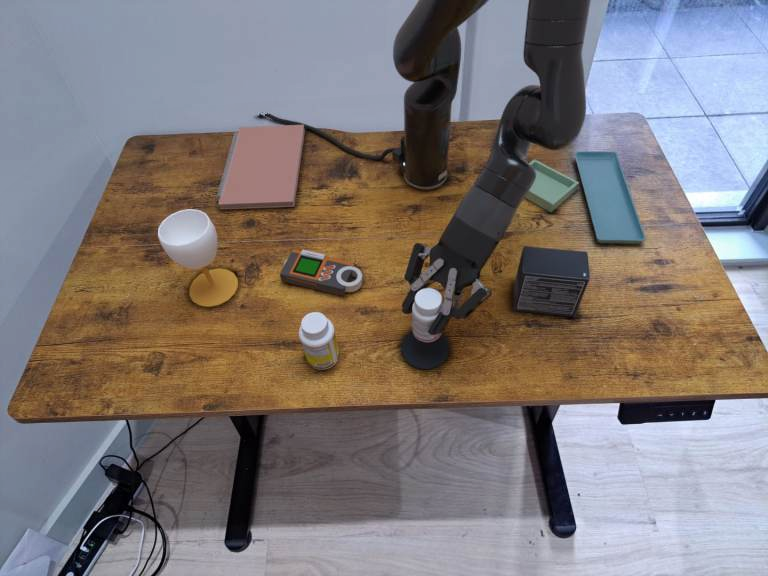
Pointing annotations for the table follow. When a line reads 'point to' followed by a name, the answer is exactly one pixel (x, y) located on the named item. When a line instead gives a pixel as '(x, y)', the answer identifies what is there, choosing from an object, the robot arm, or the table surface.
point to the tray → (550, 187)
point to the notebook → (262, 168)
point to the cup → (197, 255)
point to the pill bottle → (425, 313)
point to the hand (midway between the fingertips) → (419, 322)
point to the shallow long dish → (609, 198)
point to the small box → (550, 281)
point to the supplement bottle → (319, 341)
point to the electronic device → (320, 272)
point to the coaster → (424, 352)
